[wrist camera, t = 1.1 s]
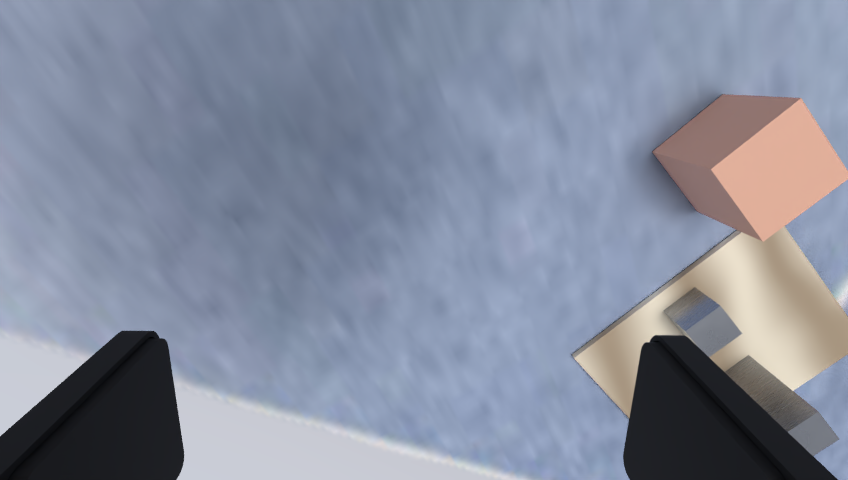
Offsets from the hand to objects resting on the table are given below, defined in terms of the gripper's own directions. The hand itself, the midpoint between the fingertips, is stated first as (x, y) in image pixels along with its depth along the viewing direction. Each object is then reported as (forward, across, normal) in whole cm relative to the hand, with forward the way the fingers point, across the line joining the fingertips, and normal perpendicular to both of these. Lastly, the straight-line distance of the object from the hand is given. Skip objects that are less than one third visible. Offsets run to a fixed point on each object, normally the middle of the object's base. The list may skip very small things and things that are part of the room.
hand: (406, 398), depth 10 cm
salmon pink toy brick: (+23, -19, -2) cm, 30 cm away
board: (+23, -22, +12) cm, 34 cm away
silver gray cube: (+23, -19, +9) cm, 31 cm away
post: (+23, -24, +14) cm, 36 cm away
